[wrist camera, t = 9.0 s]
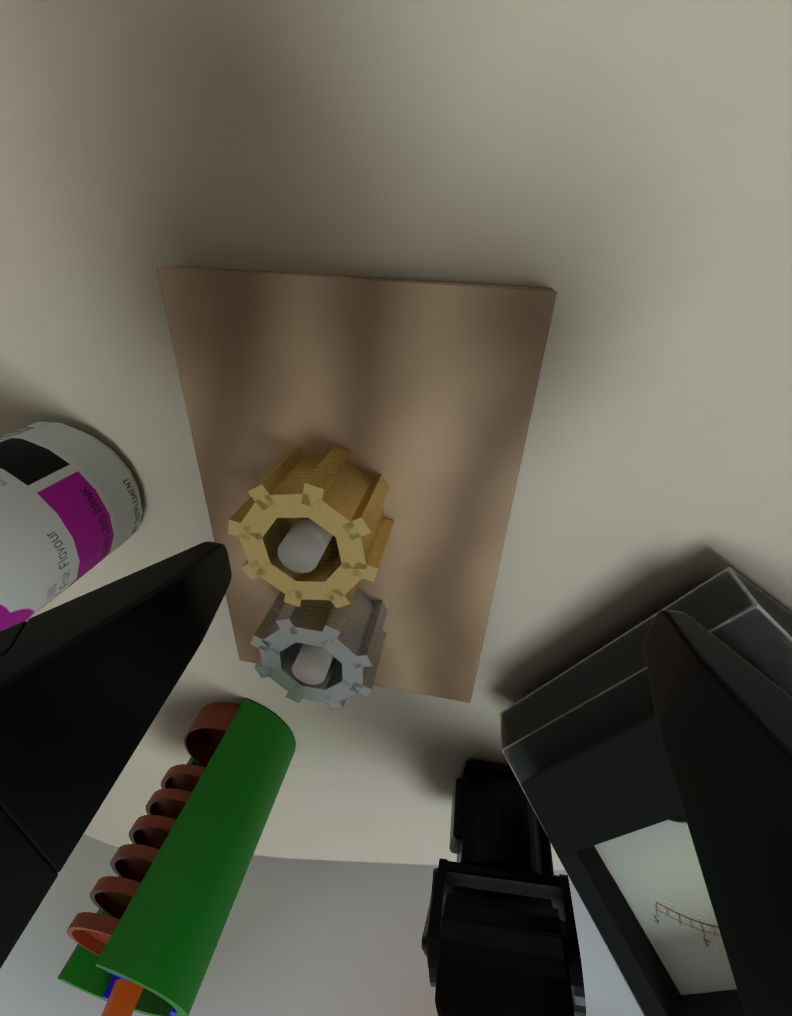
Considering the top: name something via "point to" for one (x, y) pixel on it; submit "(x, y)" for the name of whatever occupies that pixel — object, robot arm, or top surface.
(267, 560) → the brass gear
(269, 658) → the steel gear
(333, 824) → the top surface
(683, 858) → the voltmeter
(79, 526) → the supplement can
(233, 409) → the board
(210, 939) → the motor
